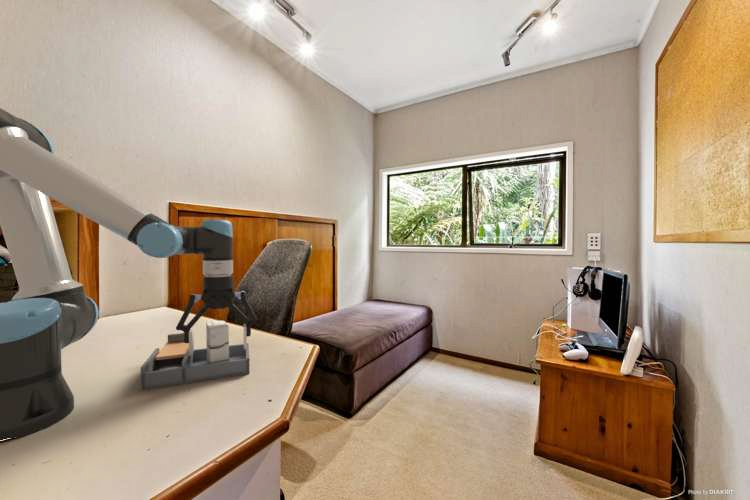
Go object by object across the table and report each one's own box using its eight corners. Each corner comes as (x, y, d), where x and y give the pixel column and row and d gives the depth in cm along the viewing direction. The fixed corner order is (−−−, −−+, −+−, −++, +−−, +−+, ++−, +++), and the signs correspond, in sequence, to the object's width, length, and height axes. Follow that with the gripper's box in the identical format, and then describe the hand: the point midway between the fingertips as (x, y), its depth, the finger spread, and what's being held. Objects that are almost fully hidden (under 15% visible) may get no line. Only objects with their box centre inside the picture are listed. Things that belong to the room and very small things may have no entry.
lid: (155, 360, 81) (155, 348, 81) (166, 344, 93) (166, 334, 93) (186, 356, 84) (186, 345, 84) (193, 341, 96) (193, 331, 96)
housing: (141, 390, 73) (140, 367, 73) (156, 368, 86) (155, 348, 86) (249, 373, 83) (249, 353, 82) (248, 355, 95) (248, 338, 95)
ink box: (230, 368, 84) (229, 325, 83) (209, 372, 81) (209, 328, 80) (224, 358, 91) (224, 319, 90) (205, 362, 88) (205, 321, 87)
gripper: (161, 278, 77) (163, 362, 77) (266, 274, 87) (266, 349, 87) (168, 275, 84) (169, 352, 84) (264, 272, 94) (265, 341, 94)
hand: (219, 351), depth 86 cm, fingers open, 13 cm apart
